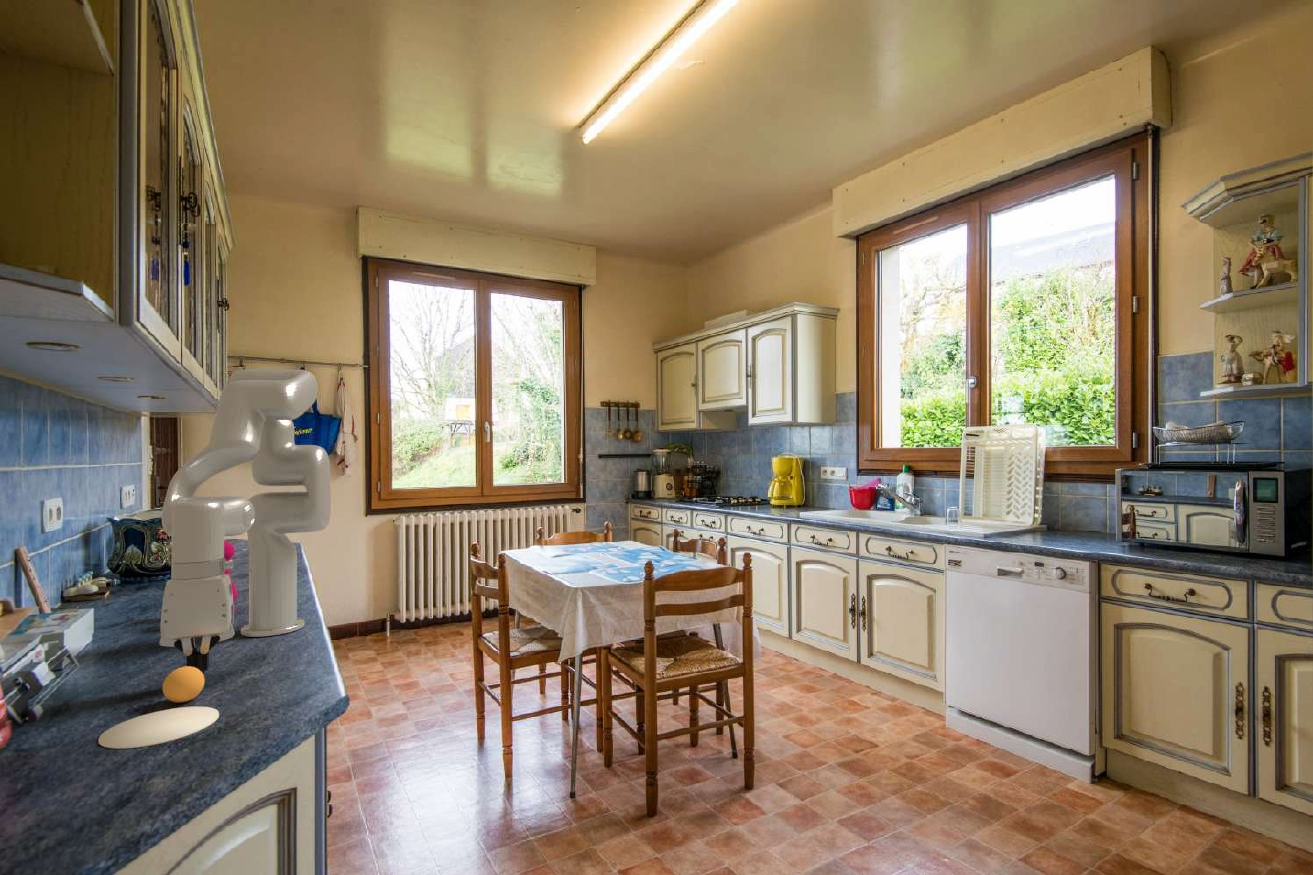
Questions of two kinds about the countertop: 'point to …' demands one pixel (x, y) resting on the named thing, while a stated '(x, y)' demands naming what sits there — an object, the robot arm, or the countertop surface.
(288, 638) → the countertop surface
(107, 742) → the disc
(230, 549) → the pepper mill
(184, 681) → the ball
